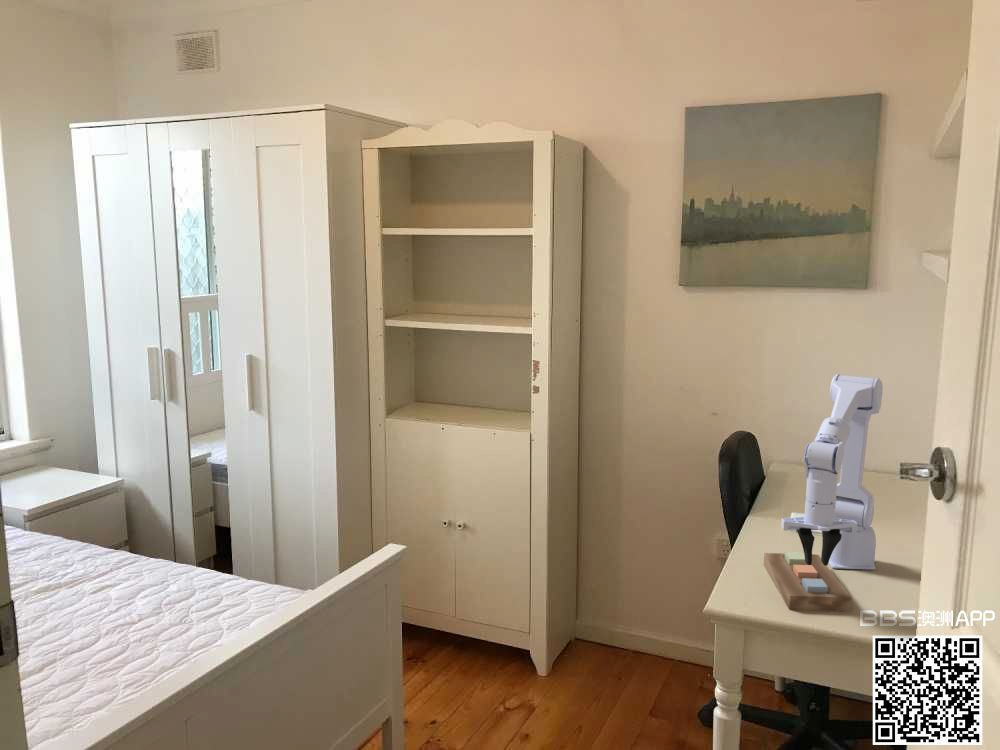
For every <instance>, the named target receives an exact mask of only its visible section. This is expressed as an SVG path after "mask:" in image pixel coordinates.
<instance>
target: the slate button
mask: <svg viewBox="0 0 1000 750" xmlns="http://www.w3.org/2000/svg"><path fill="white" fill-rule="evenodd" d="M802 587H803V588H804V590H805V591H806V593H828V587H827V585H826V584H825V582H824V581H823V580H822V579H811V578H802Z"/></svg>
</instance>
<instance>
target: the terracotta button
mask: <svg viewBox="0 0 1000 750" xmlns="http://www.w3.org/2000/svg"><path fill="white" fill-rule="evenodd" d="M793 573H794V574H795V576H796V577H797V578H811V579H817V575H818V573H817V571H816V570H815V568H814V567H813V566H812V565H793Z"/></svg>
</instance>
